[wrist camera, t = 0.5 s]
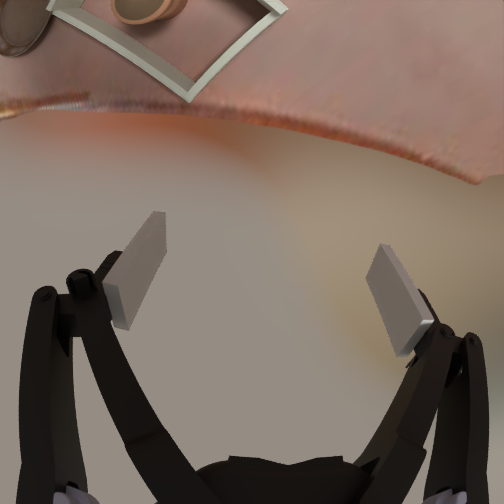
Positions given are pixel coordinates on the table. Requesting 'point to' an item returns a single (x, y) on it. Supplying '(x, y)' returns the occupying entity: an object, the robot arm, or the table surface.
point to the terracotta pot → (146, 10)
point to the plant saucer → (21, 24)
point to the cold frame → (68, 9)
